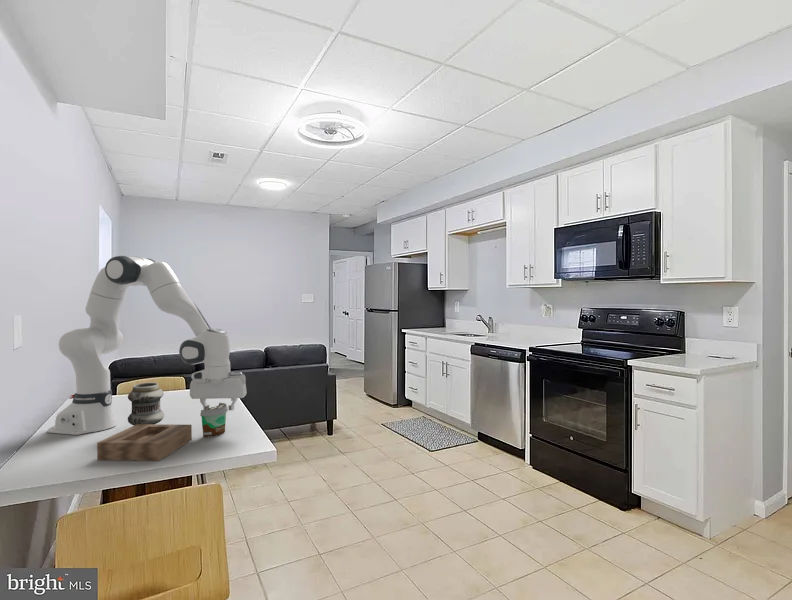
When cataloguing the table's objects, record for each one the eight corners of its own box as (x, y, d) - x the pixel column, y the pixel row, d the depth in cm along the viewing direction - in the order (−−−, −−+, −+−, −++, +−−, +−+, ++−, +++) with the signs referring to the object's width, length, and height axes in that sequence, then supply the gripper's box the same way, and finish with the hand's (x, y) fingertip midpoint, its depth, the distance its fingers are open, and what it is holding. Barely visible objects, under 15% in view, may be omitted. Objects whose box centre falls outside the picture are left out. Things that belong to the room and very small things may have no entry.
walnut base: (97, 460, 144) (97, 442, 144) (136, 439, 164) (136, 424, 164) (159, 460, 143) (159, 443, 143) (191, 440, 163) (191, 424, 163)
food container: (216, 439, 164) (215, 411, 164) (200, 438, 165) (200, 410, 165) (235, 428, 176) (234, 402, 176) (220, 428, 177) (219, 402, 177)
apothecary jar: (137, 439, 164) (135, 389, 164) (122, 433, 172) (121, 385, 171) (170, 430, 174) (169, 383, 174) (155, 425, 181) (154, 380, 181)
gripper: (248, 370, 173) (249, 407, 173) (195, 371, 174) (196, 408, 174) (242, 373, 166) (243, 412, 166) (186, 374, 167) (188, 412, 168)
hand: (218, 410), depth 170 cm, fingers open, 8 cm apart
